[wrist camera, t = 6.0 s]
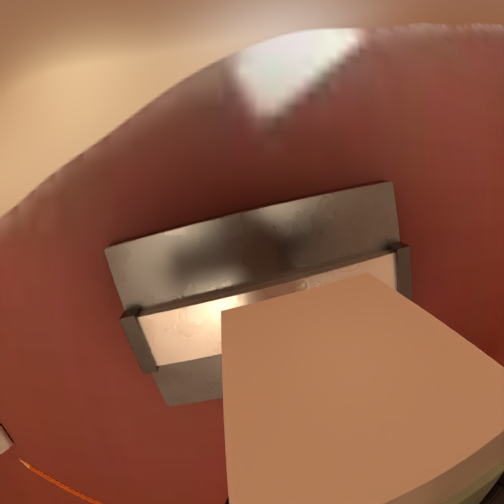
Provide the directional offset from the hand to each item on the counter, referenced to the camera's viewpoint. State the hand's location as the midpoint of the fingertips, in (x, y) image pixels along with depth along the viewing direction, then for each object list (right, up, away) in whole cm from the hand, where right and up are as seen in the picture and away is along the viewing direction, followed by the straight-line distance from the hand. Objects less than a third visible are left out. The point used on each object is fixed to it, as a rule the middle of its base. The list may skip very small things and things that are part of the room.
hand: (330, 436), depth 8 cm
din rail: (-1, +3, +11) cm, 12 cm away
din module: (0, 0, +2) cm, 2 cm away
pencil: (-25, -25, +16) cm, 38 cm away
